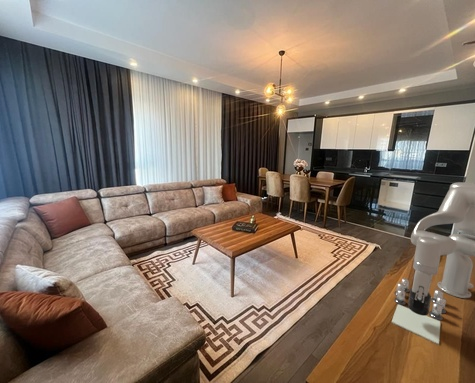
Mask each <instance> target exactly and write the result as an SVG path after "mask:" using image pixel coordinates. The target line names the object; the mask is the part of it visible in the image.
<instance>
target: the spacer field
mask: <svg viewBox="0 0 475 383" xmlns="http://www.w3.org/2000/svg"><path fill="white" fill-rule="evenodd" d="M409 285H410V280H409V279H407V278H404V277H403V278H401V282H397V285H396V286H397V287H396V290H395V291H394V295H395V296H396V297H395V298H394V302H395V303H396V304H397V305H398V304H399V305H401V306H406V303H407V302H406V301H405V299H406V293H407V294H408V293H410V289H409ZM431 302H432V303H433V304H432V308H431V311H429V314H428V316H429V317H430V318H433V319H435V320H438V321H443V318H444V317H443V316H442V314H446V313H447V310H446V309H445V307H446V302H447V300H446V298H444V291H442V290H441V289H438V288H437V289H434V293H433V297H431Z"/></svg>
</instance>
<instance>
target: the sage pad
mask: <svg viewBox="0 0 475 383" xmlns="http://www.w3.org/2000/svg"><path fill="white" fill-rule="evenodd" d="M391 324H393V325H395V326H398V327H400V328H402V329H404V330H407V331H408V332H410V333H413V334H415V335H417V336H418V337H421V338H423V339H425V340H428V341H430V342H432V343H434V344H436V345H438V346H439V345H440V333H441V320H437V319H434V318H432V317H431V316H429V315H426V316H422V315H418V314H416V313H414V312H412V311H411V310H410V309H409V307H406V306H405V305H400V304H398V303H397V305H396V309H395V310H394V314H393V317H392V320H391Z"/></svg>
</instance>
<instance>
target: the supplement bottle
mask: <svg viewBox="0 0 475 383" xmlns="http://www.w3.org/2000/svg"><path fill="white" fill-rule="evenodd" d="M419 287H420V286H419ZM409 290H410V291H409V296H408V304H407V308H409V309H410V310H411V311H412V312H414V313H416V314H418V315H422V316H429V312H430V307H431V302H432V301H431V298H432V296H431V293H430V292H428V295H427V296H426V297H424V308H423V311H421V310H419V309H416V308H414V307H413V303H414V298H415V296H416V293H415V292H412V287H411V288H410V289H409ZM423 290H424V288H423ZM418 292H419V291H418ZM418 292H417V293H418ZM422 294H423V295H424V293H422ZM417 296H418V294H417ZM422 298H423V296H422Z"/></svg>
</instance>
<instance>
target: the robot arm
mask: <svg viewBox="0 0 475 383" xmlns="http://www.w3.org/2000/svg"><path fill="white" fill-rule="evenodd" d="M450 224H453V225H454V227H453V228H454V230H455V231H457V232H459V233H452V234H450V235H449V236H446V235H441V234H438V233H435V232H430V231H427V229H429V228H431V227H433V226H438V225H439V226H440V225H450ZM460 233H461V234H460ZM474 236H475V182H474V183H473V182H459V181H458V182H453V183H452V184H450V185H449V189H448V191H447V193H446V195H445V197H444V198H443V200H442V202H441V205H440V206H439V209H438V211H436V212H433V213H431V214H429V215H426V216H424V217H423V218H421V219H420V220H419V221H418V222H417V223H416V225H415V227H414V229H413V230H412V232H411V235H410V242H411V243H412V245H414V246H416V247H415V252H414V258H413V263H412V264H413V265H412V268H413V269H414V270H415V272H414V275H413V281H412V282H413V284H412V286H411V288H412V292H415V293H416V296H415V298H414V303H413V307H414V308H416V309H419V310H421V311H423V308H424V297H426V296H427V295H428V292H429V291H430V289H431V284H432V279H433V276H436V275H438V271H439V265H440V259H441V256H446V259H445V265H444V269H443V274H442V280H441V281H438V282H437V287H438V288H439V290H441V291H442V292H443V293H446V294H448V295H450V296H453V297H457V298H461V299H470V298H471V297H472V292H471V291H469V289H470V288H474V283H471V282H470V281H471V277H472V271H473V269H474V268H473V267H474V262H473V261H472V258H475V237H474ZM471 257H472V258H471ZM419 286H420V287H419ZM423 288H424V290H423ZM418 291H419V292H418ZM417 292H418V293H417ZM422 293H424V295H423V294H422ZM429 293H430V292H429ZM417 294H418V296H417ZM422 296H423V298H422Z"/></svg>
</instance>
